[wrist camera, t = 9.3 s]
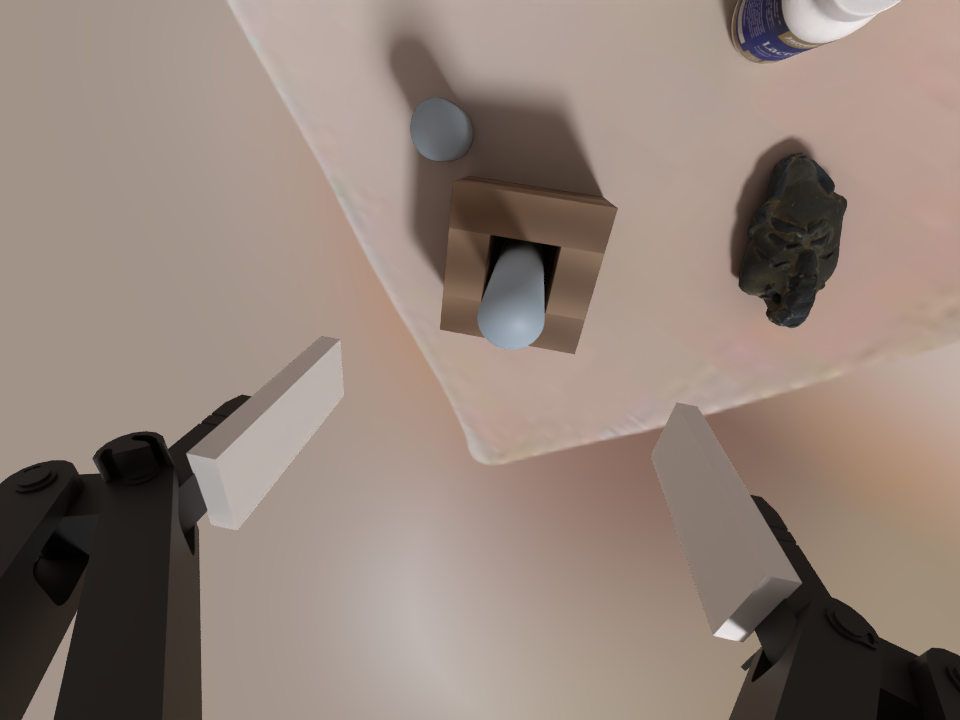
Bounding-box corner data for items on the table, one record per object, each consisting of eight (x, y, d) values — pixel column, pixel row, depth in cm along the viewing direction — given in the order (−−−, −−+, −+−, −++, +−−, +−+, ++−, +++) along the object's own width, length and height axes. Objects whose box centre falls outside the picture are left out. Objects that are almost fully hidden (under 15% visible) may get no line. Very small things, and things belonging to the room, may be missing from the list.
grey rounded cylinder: (431, 99, 31) (415, 90, 27) (477, 113, 31) (468, 106, 27) (423, 153, 33) (406, 152, 29) (467, 165, 33) (457, 167, 29)
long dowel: (505, 229, 36) (482, 281, 22) (547, 236, 35) (551, 293, 22) (498, 271, 38) (473, 343, 24) (538, 278, 37) (536, 354, 24)
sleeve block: (468, 176, 34) (453, 181, 28) (603, 197, 33) (617, 208, 27) (455, 302, 40) (439, 329, 34) (569, 322, 39) (574, 354, 33)
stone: (843, 143, 29) (899, 140, 25) (811, 305, 35) (852, 327, 31) (744, 162, 31) (779, 163, 26) (729, 315, 37) (756, 338, 32)
